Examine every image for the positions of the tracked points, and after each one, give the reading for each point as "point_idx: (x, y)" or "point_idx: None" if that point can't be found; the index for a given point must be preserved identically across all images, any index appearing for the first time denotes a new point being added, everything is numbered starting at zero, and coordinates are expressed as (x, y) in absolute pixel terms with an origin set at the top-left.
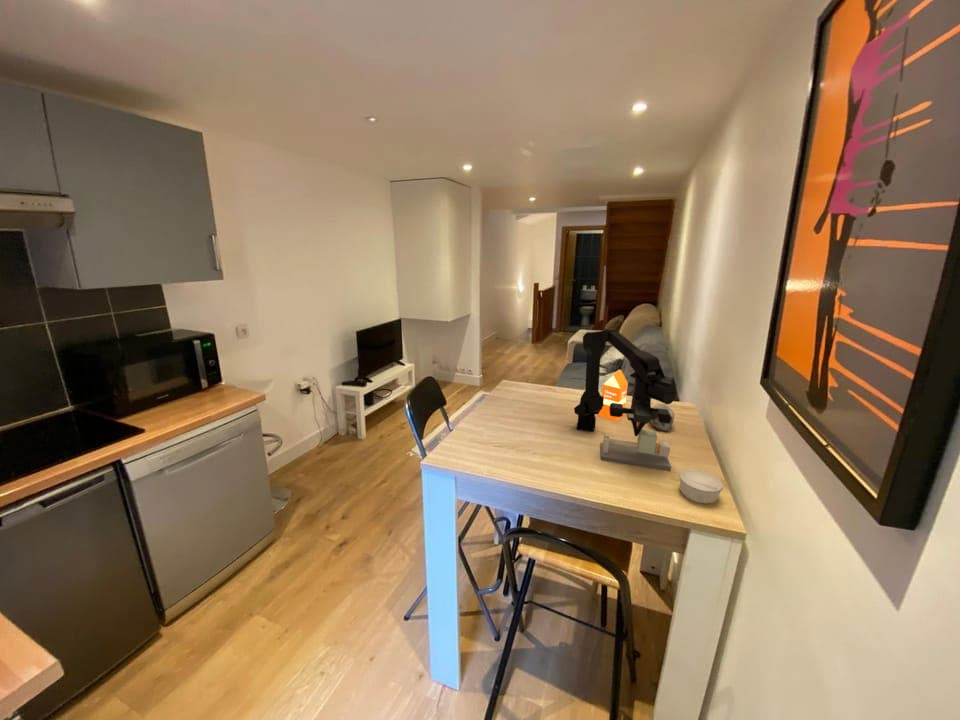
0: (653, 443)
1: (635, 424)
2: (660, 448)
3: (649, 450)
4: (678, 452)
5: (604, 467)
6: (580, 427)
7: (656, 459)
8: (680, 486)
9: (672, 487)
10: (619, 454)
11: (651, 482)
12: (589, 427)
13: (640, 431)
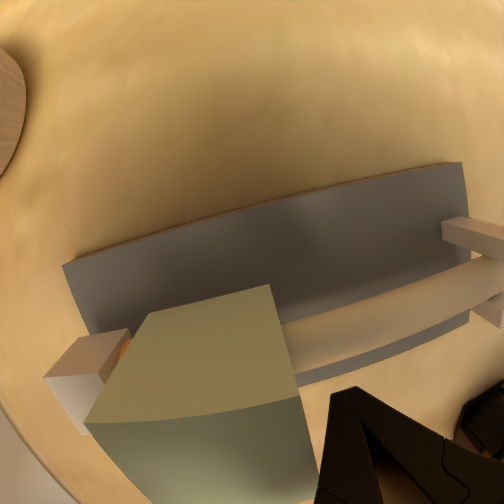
0: (137, 362)
1: (463, 494)
2: (102, 359)
3: (180, 316)
4: None
5: (414, 93)
6: (501, 393)
7: (147, 314)
8: (17, 84)
9: (55, 96)
10: (381, 245)
11: (148, 66)
12: (480, 412)
13: (311, 462)
